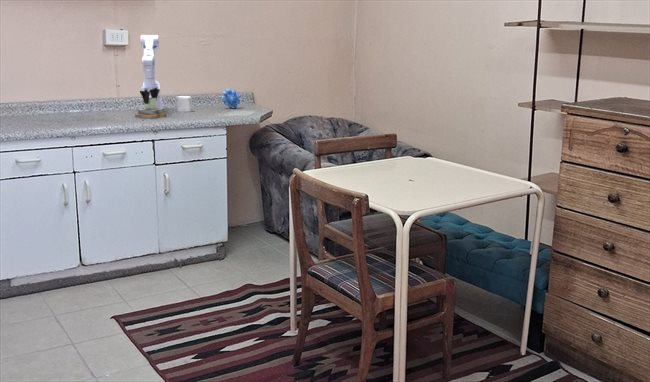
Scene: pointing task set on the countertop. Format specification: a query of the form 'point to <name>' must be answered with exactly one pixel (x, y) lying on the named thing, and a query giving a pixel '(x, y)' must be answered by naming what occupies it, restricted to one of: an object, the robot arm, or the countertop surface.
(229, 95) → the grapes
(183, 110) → the medicine box
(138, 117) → the tower base
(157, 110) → the tower top
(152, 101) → the green block
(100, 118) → the countertop surface
